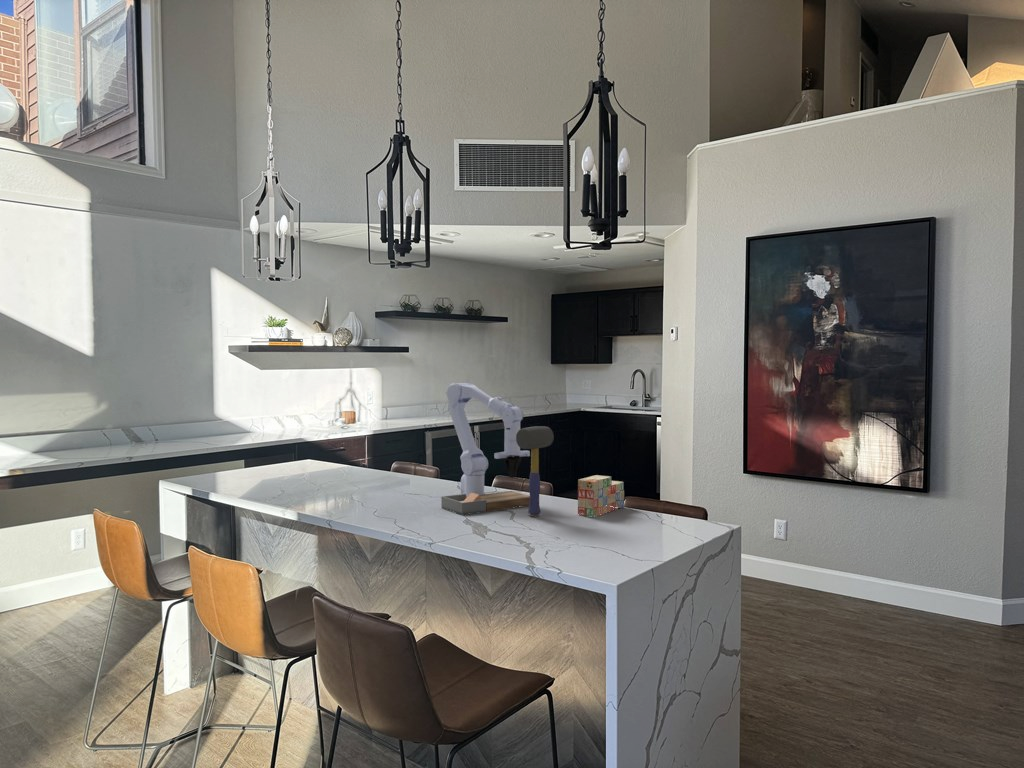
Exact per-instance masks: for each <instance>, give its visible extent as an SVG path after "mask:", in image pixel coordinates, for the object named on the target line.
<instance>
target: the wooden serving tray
mask: <svg viewBox="0 0 1024 768" xmlns="http://www.w3.org/2000/svg"><path fill="white" fill-rule="evenodd" d="M467 497H468V496H466V498H467ZM480 497H481V498H482V499H481V500H486V512H494V511H493V510H495V511H500V510H501V509H502V510H507V508H510V509H514V508H513V507H517V508H520V507H519V506H525V507H529V506H528V505H530V495H527V494H525V493H520V492H517V491H512V490H511V491H502V492H492V493H484V494H483V495H480ZM502 510H501V511H502Z"/></svg>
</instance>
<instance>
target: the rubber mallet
mask: <svg viewBox="0 0 1024 768" xmlns="http://www.w3.org/2000/svg"><path fill="white" fill-rule="evenodd" d="M554 437H555V435H554V432H553V430H552V429H551V428H550V427H549V426H545V425H544V426H543V425H541V426H540V425H539V426H538V425H535V426H529V427H522V428H520V430H519V431H518V432H517V435H516V442H517V444H518V446H519V447H520V449H523V450H530V451H531V452H530V457H531V459H530V464H531V465H530V473H529V480H528V489H529V496H530V505H529V506H528V514H529V516H530V517H534V518H535V517H539V516H540V514H541V507H540V493H541V478H540V472H539V471H540V470H539V469H540V467H539V465H540V464H539V463H540V459H539V458H540V457H539V455H540V452H539V451H540V450H539V449H542V448H547V447H549V446H551V445H552V444H553V443H554Z"/></svg>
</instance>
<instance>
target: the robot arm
mask: <svg viewBox="0 0 1024 768" xmlns="http://www.w3.org/2000/svg"><path fill="white" fill-rule="evenodd" d="M445 394H446V396H447V399H448V405H447V406H448V413H449V415H450V417H451V420H452V423H453V426H454V429H455V431H456V435H457V437H458V441H459V443H460V446H461V450H462V453H461V455H460V456H459V458H460V462H461V464H460V465H461V466H460V467H461V471H462V472H463V474H462V476H461V478H460V494H466V496H469V495H470V493H471V492H472V493H475V494H479V495H483V494H485V474H486V471H487V469H488V468H489V460H488V458H487V457H486V456H485V455H484V452H483V450H481V449H480V448H479V447H477V443H476V440H475V438H474V435H473V432H472V429H471V426H470V423H469V420H468V417H467V415H466V412H465V407H466V406H467V404H468V403H469V402H470V401H471V399H474V400H476V401H478V402H480V403H482V404H484V405H486V406H487V408H488V410H489V411H490V412H492V413H493V414H495V415H496V416H498V417H499V418H501V420H502V422H503V426H504V446H503V447H504V448H503V449H504V451H500V452H495V453H493V454H494V455H493V456H494V459H496V460H497V459H498V460H499V459H502V461H503V462H504V464H505V467H506V470H507V473H508V478H516V475H517V471H518V468H519V466H520V464H521V462H522V457H531V452H530V451H531V450H521V448H520V447H519V446H518V444H517V442H516V435H517V432H518V431H519V430H520V429H521V421H523V419H524V411H523V409H522V408H521V407H519V406H516V405H515V406H513V404H512V403H508V402H506V401H504V399H503V397H501V396H495V397H492V396H491V395H489V394H488V393H486V392H484V391H483V390H481V389H480V388H478V387H477V386H476V385H475V384H473V383H470V382H459V383H458V382H453V383H450V384H449V385H448V388H447V390H446V393H445Z"/></svg>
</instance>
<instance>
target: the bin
mask: <svg viewBox="0 0 1024 768" xmlns="http://www.w3.org/2000/svg"><path fill="white" fill-rule="evenodd" d="M440 499H441V501H440V502H441V504H440V505H441V507H442V508H441V509H443V508H445V509H444V510H446V509H448V510H447V511H449V510H451V511H450V512H452V511H454V512H453V513H455V512H456V513H455V514H458V513H459V514H458V515H461V514H465V515H469V514H468V513H472V514H478V513H477V512H480V513H486V512H487V511H486V500H479V501H471V502H460V501H464V500H465V499H466V494H461V493H460V494H450V495H442V496H441V498H440ZM485 511H486V512H485Z"/></svg>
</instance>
